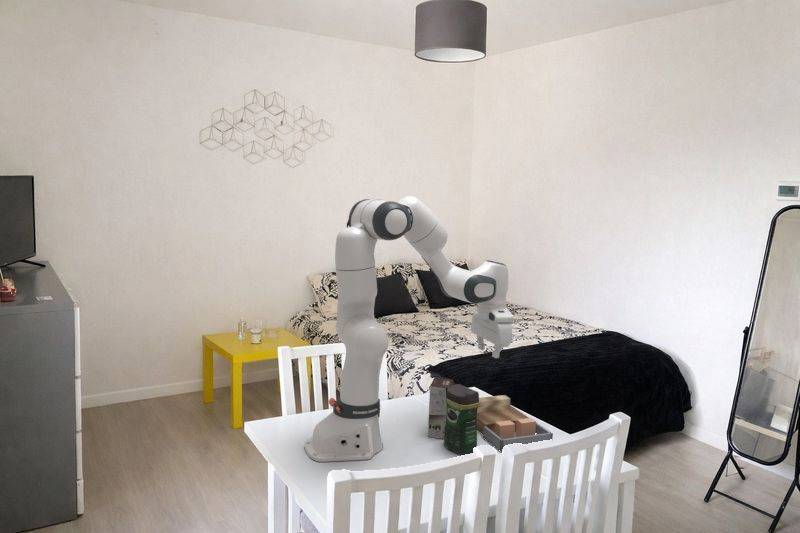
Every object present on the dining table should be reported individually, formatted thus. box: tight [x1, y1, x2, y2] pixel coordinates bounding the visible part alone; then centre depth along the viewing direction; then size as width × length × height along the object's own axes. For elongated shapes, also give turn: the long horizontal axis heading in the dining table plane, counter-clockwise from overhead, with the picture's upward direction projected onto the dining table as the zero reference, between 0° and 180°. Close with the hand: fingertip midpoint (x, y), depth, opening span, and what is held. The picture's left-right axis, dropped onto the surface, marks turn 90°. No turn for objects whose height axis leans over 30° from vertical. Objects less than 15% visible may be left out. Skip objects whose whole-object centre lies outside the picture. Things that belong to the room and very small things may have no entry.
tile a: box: [495, 420, 515, 439], centre depth 191 cm, size 5×5×3 cm
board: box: [477, 404, 530, 436], centre depth 203 cm, size 16×15×4 cm
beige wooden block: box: [477, 394, 511, 413], centre depth 205 cm, size 12×4×4 cm, turn 111°
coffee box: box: [427, 377, 454, 440], centre depth 194 cm, size 9×6×16 cm
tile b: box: [516, 417, 537, 437], centre depth 193 cm, size 5×5×3 cm
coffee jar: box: [443, 383, 480, 455], centre depth 183 cm, size 10×8×19 cm
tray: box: [482, 422, 554, 453], centre depth 191 cm, size 18×11×4 cm, turn 111°
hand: (488, 353), depth 203 cm, fingers open, 8 cm apart
